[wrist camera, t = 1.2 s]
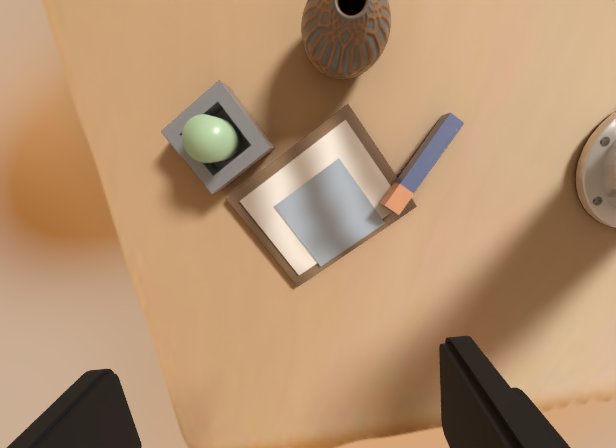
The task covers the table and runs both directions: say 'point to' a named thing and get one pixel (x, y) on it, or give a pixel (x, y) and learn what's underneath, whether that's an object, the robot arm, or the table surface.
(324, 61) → the vase
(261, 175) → the picture frame
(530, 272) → the table surface
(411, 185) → the marker
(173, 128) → the button box
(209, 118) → the button
